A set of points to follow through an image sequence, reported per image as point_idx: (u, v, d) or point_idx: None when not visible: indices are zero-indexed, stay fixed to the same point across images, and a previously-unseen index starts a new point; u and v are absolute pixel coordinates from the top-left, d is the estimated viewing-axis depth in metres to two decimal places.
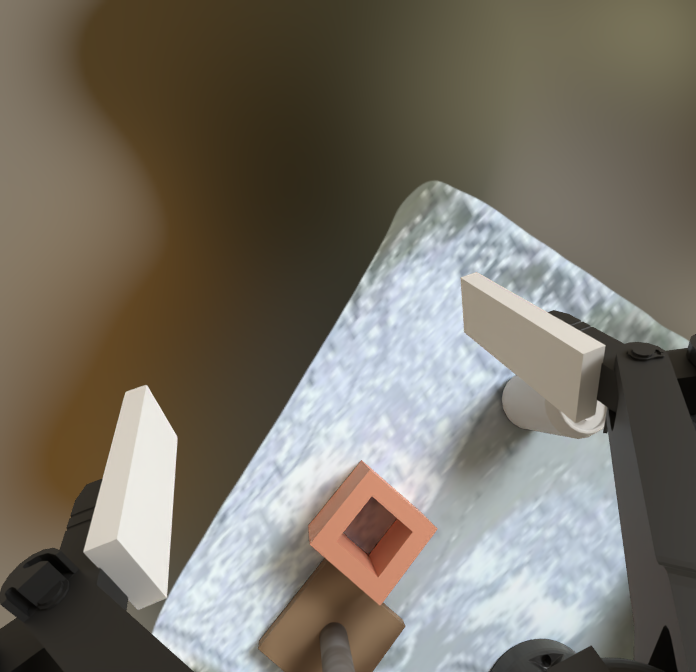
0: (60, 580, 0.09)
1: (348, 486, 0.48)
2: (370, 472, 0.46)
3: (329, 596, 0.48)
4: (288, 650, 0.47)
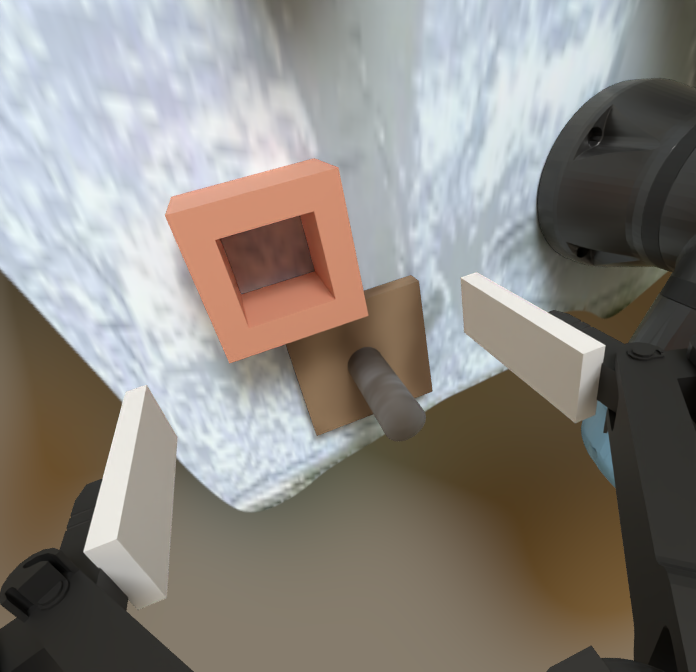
0: (60, 580, 0.09)
1: None
2: (170, 217, 0.22)
3: (322, 347, 0.34)
4: (340, 410, 0.38)
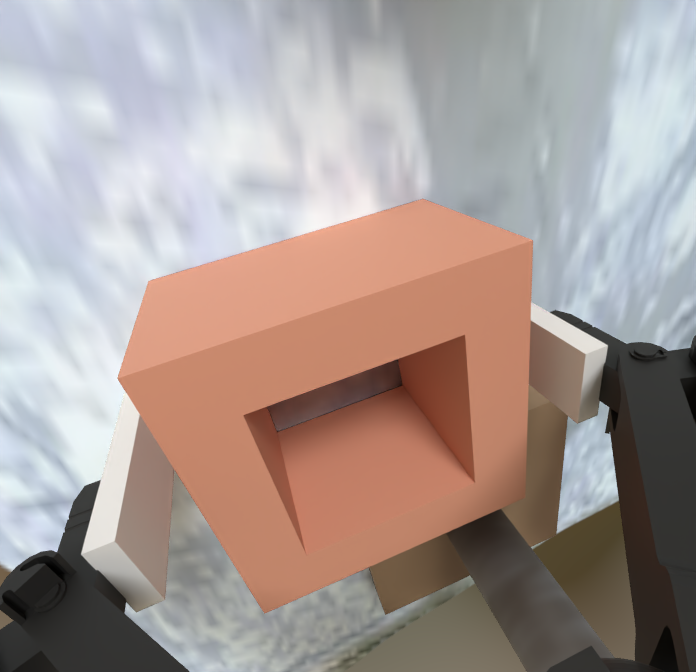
0: (57, 583, 0.09)
1: None
2: (133, 381, 0.09)
3: None
4: (424, 578, 0.24)
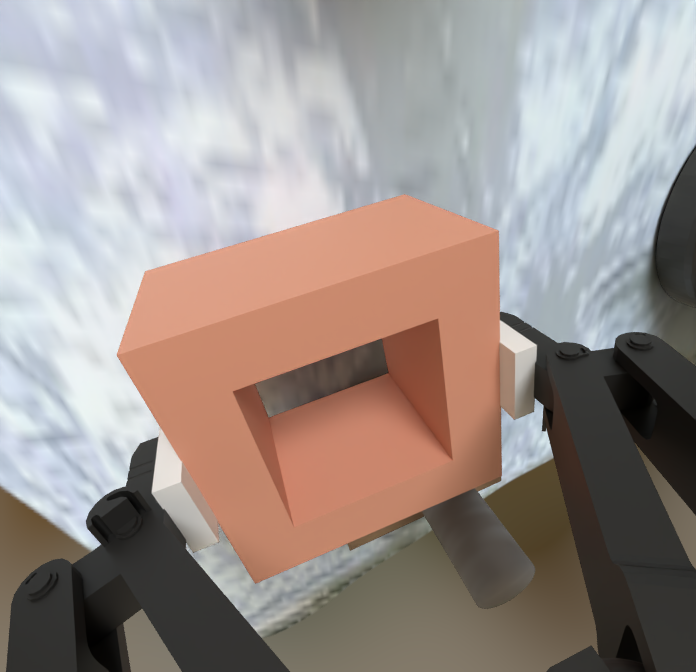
0: (135, 516, 0.10)
1: None
2: (130, 358, 0.10)
3: None
4: None
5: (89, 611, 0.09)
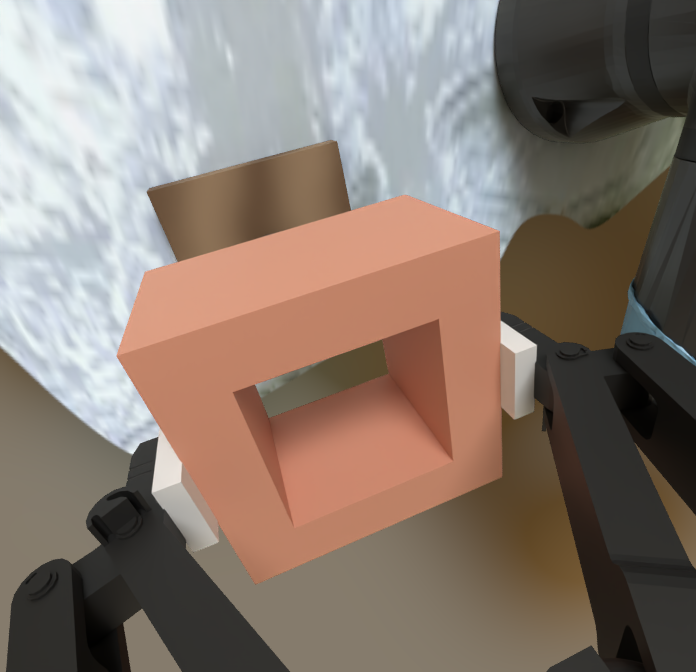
0: (135, 516, 0.10)
1: None
2: (130, 359, 0.10)
3: (211, 227, 0.26)
4: None
5: (89, 611, 0.09)
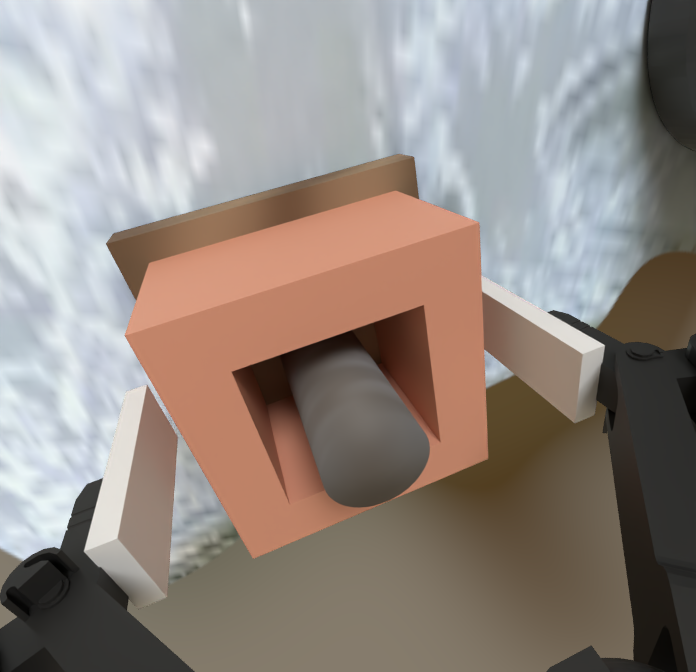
0: (60, 580, 0.09)
1: None
2: (137, 339, 0.10)
3: None
4: None
5: None
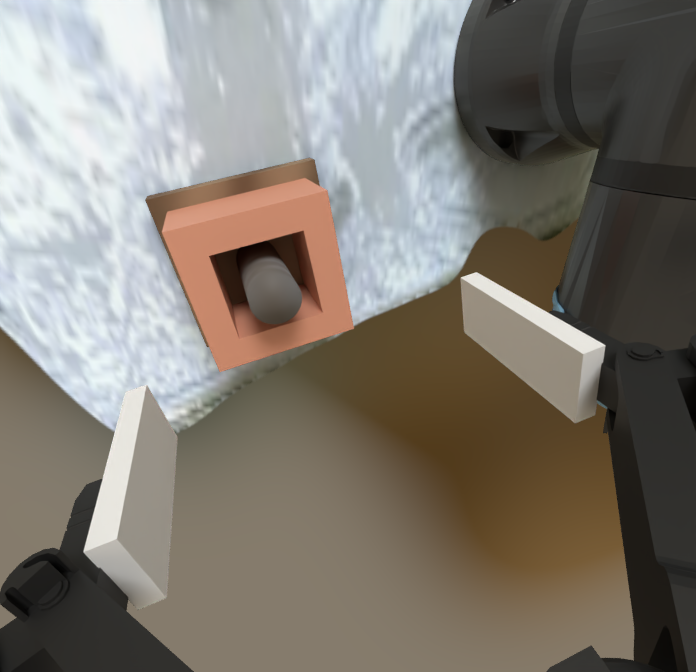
0: (60, 580, 0.09)
1: None
2: (167, 234, 0.24)
3: None
4: None
5: None
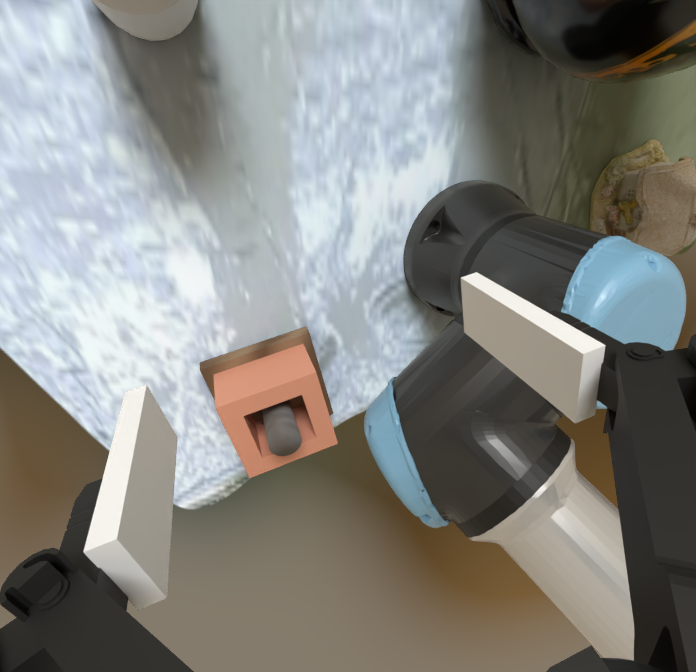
0: (60, 580, 0.09)
1: None
2: (218, 408, 0.39)
3: None
4: None
5: None
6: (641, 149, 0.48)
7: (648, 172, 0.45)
